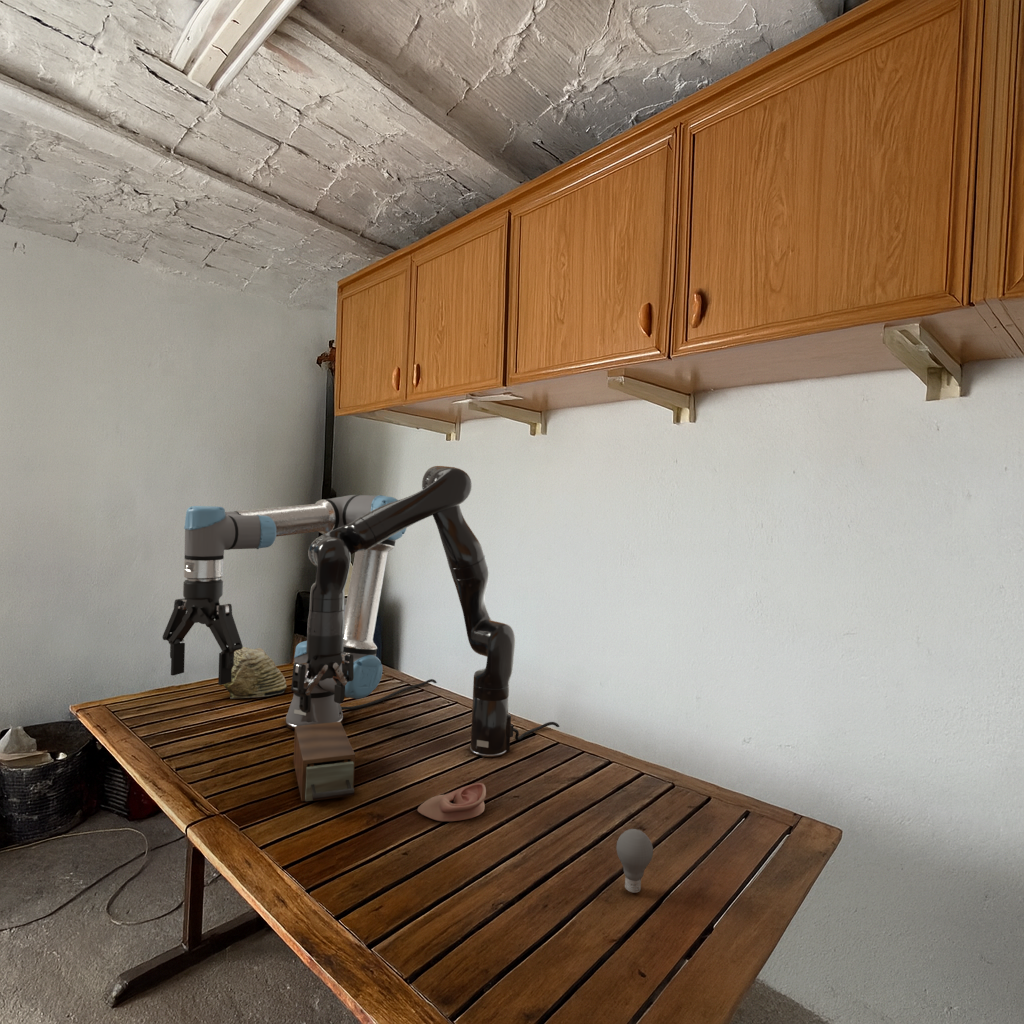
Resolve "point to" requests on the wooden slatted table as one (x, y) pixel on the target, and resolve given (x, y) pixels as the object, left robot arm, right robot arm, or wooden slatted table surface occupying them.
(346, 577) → the right robot arm
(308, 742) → the cabinet
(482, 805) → the anatomical model
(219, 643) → the left robot arm
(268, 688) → the fossil
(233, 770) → the wooden slatted table surface
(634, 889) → the light bulb
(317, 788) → the drawer
